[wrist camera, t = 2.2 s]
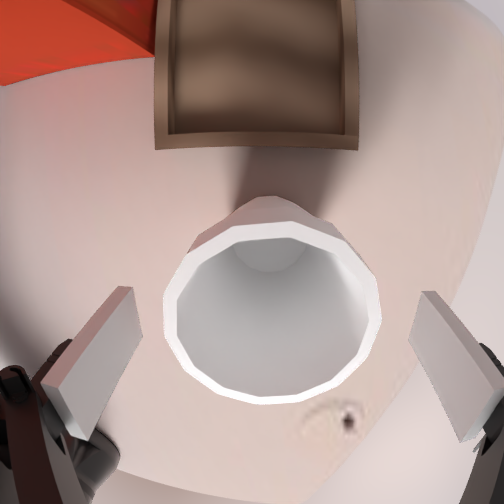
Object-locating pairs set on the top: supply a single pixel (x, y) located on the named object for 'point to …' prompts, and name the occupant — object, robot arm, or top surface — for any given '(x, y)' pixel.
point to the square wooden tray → (256, 74)
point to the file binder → (72, 34)
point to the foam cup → (271, 305)
